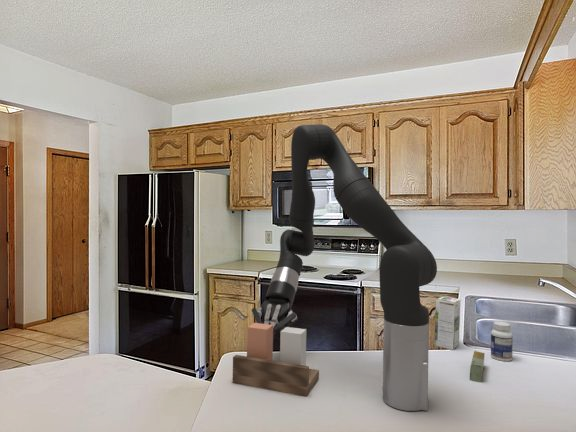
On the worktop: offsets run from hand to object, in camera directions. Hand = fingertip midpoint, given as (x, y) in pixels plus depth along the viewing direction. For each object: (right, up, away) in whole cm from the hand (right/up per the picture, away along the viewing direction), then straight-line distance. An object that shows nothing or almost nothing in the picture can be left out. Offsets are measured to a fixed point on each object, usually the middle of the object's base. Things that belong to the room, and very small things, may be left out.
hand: (264, 345), depth 96 cm
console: (+3, -7, -4) cm, 9 cm away
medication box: (+54, -8, +3) cm, 55 cm away
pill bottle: (+66, -8, +13) cm, 68 cm away
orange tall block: (-1, -4, -2) cm, 5 cm away
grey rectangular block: (+7, -5, -5) cm, 10 cm away
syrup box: (+54, -8, +23) cm, 60 cm away
